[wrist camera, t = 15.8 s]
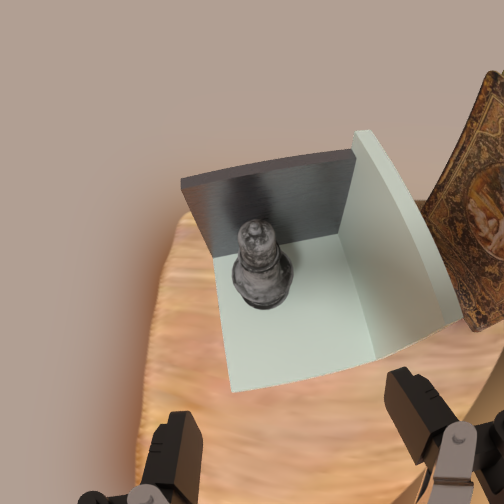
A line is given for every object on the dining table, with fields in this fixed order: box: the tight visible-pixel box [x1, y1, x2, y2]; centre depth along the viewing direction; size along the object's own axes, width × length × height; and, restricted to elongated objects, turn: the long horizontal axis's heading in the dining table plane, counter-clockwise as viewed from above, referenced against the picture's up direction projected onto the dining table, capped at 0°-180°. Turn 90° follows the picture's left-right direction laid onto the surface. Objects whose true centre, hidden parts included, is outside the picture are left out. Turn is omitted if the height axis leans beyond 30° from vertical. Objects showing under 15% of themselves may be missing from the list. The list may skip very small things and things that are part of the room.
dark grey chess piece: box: [232, 219, 294, 310], centre depth 25 cm, size 6×6×12 cm
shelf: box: [181, 130, 464, 392], centre depth 24 cm, size 16×16×16 cm
